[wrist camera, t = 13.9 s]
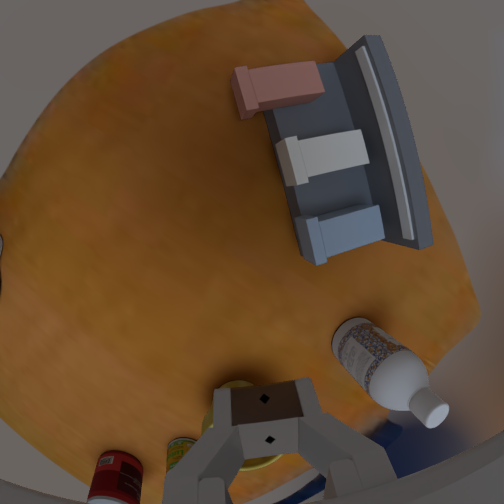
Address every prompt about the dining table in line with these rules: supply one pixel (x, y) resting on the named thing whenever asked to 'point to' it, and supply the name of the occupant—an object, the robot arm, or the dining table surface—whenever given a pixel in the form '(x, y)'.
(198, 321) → the dining table surface
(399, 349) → the bath foam
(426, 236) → the console
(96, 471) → the canned food
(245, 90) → the terracotta key
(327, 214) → the slate-blue key
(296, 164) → the ivory key
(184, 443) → the supplement bottle
